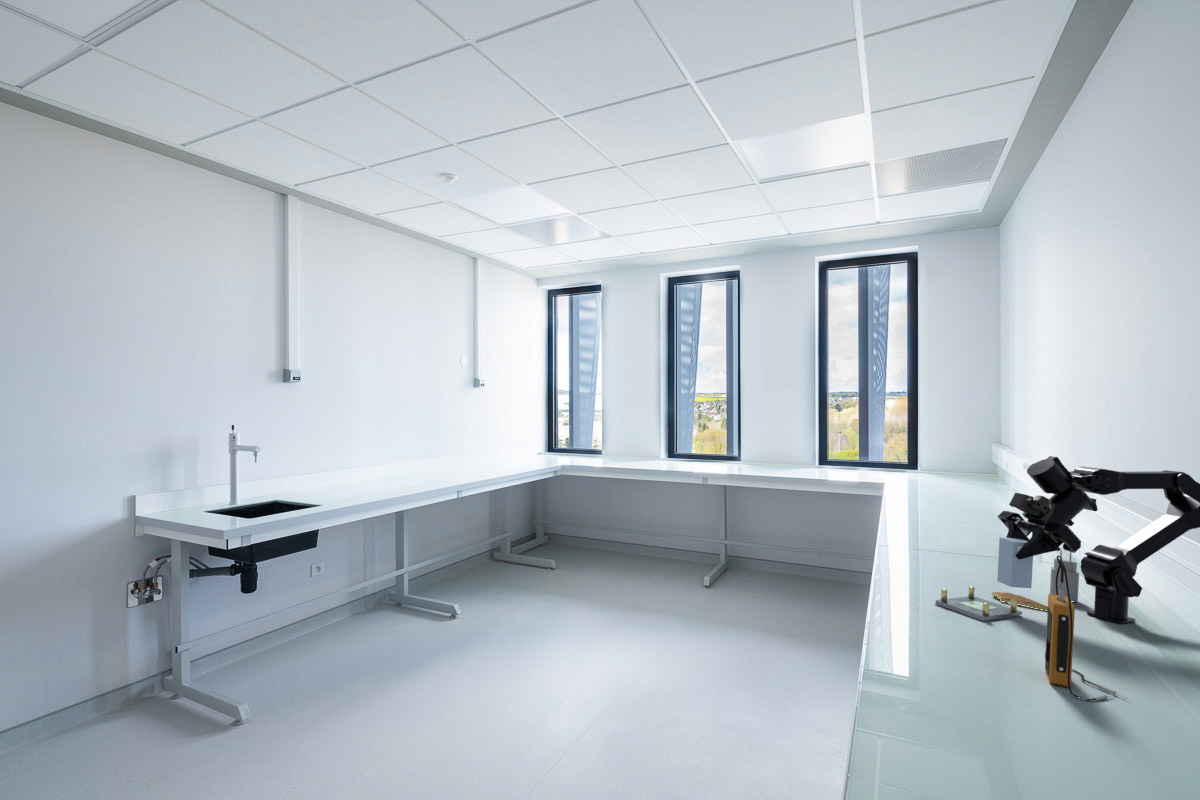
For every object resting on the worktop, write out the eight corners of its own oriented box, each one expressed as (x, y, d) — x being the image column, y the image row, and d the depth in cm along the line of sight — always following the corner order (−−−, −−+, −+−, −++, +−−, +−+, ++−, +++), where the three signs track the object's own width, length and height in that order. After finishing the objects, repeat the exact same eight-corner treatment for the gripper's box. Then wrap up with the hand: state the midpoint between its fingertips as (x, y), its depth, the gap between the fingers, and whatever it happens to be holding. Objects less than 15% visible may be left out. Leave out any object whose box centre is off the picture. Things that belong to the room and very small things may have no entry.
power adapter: (1077, 603, 142) (1080, 554, 142) (1049, 598, 145) (1051, 549, 146) (1077, 600, 144) (1080, 552, 145) (1050, 595, 148) (1052, 547, 148)
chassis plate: (972, 600, 139) (973, 585, 139) (1021, 616, 129) (1022, 600, 129) (935, 604, 134) (936, 589, 134) (983, 621, 124) (984, 605, 124)
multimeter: (1137, 714, 86) (1143, 577, 87) (1052, 693, 92) (1058, 564, 92) (1115, 678, 99) (1121, 559, 99) (1041, 661, 104) (1047, 549, 104)
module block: (1016, 582, 134) (1019, 538, 134) (1031, 588, 130) (1033, 543, 130) (997, 580, 134) (999, 537, 134) (1011, 587, 130) (1013, 541, 130)
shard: (1054, 615, 133) (1054, 607, 133) (1023, 614, 132) (1023, 606, 132) (1015, 599, 144) (1016, 592, 144) (986, 598, 143) (987, 591, 143)
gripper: (1007, 477, 142) (959, 520, 141) (1070, 487, 123) (1015, 537, 123) (1038, 511, 142) (990, 554, 141) (1105, 527, 123) (1050, 577, 123)
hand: (1009, 554), depth 132 cm, fingers closed on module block, 5 cm apart
